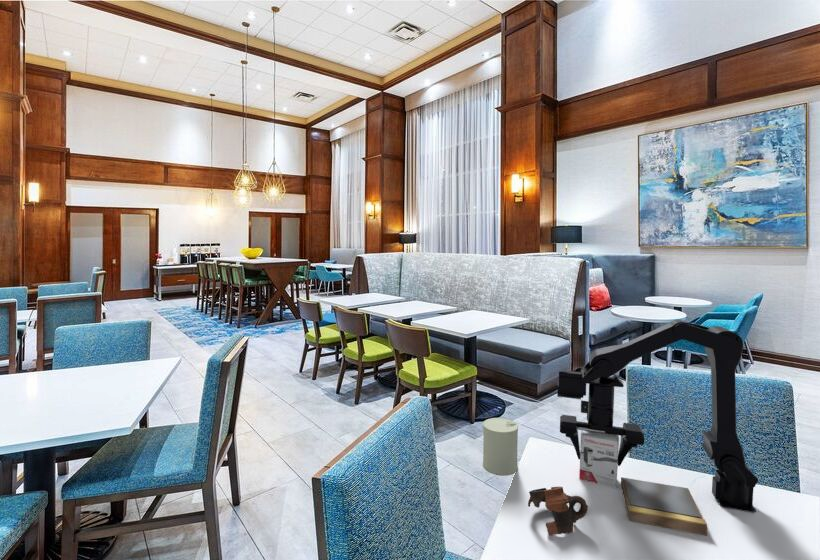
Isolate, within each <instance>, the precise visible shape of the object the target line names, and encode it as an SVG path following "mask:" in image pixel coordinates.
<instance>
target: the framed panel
mask: <svg viewBox="0 0 820 560" xmlns="http://www.w3.org/2000/svg"><path fill="white" fill-rule="evenodd" d="M620 487H621V491H622V495H623V502H624V505H625V509H626V513H627V518H628V519H627V520H628V521H630V522H635V523H640V524H645V525H651V526H656V527H661V528H666V529H671V530H676V531H681V532H687V533H692V534H697V535H701V536H707V535H708V524H707V522H706V519H704V517H703V515H702V513H701V511H700V509H699V506H698V505H697V503H696V501H695V499H694V497H693V495H692V493H691V491H690V489H689V487H684V486H683V487H682V486H678V485H677V486H675V485H671V484H665V483H660V482H659V483H658V482H653V481H647V480H642V479H641V480H640V479H635V478H627V477H620Z"/></svg>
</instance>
